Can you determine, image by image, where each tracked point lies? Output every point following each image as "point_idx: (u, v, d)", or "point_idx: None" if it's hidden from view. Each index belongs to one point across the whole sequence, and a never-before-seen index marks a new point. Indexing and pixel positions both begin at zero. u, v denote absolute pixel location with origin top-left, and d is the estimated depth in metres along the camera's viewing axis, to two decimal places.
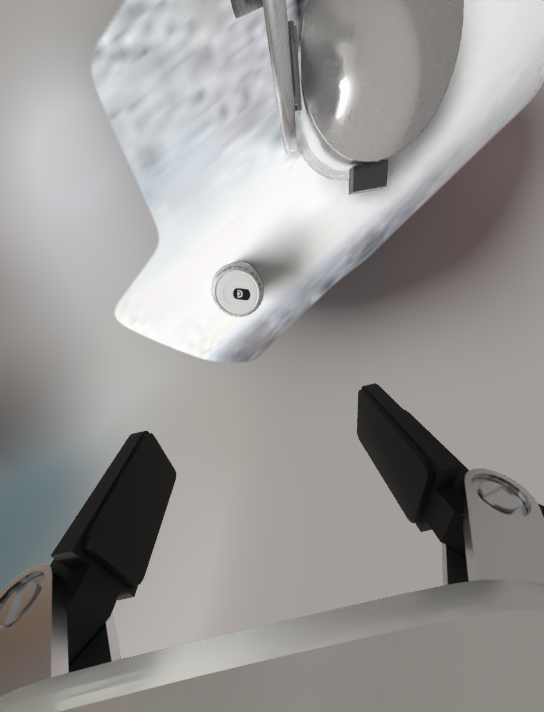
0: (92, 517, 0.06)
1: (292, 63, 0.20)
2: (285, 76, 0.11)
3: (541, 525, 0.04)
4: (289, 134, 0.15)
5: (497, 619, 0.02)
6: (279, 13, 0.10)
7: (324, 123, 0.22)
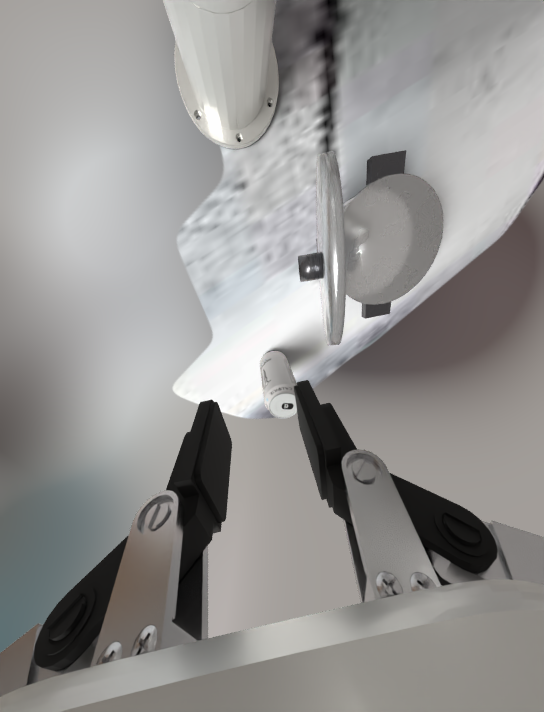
0: (196, 458, 0.07)
1: None
2: None
3: (390, 481, 0.05)
4: None
5: (497, 619, 0.02)
6: (338, 338, 0.19)
7: (346, 286, 0.31)
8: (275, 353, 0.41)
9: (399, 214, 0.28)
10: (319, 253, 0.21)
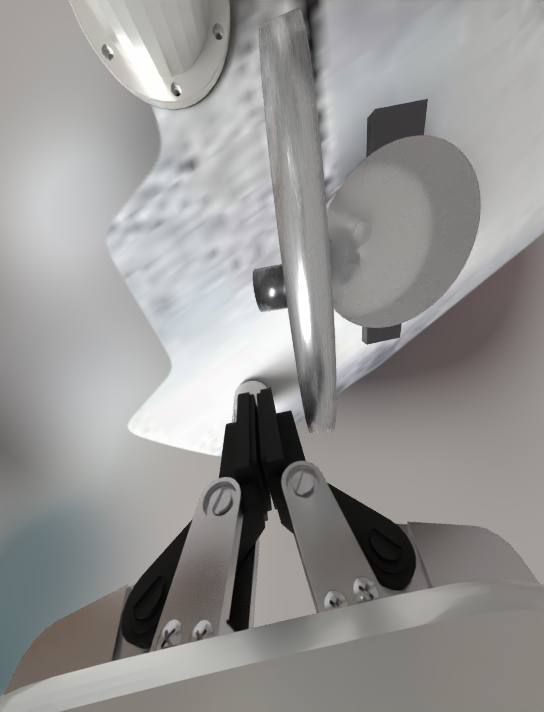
0: (249, 446, 0.07)
1: None
2: None
3: (327, 486, 0.06)
4: None
5: (497, 619, 0.02)
6: None
7: (339, 304, 0.22)
8: (252, 385, 0.32)
9: (416, 200, 0.18)
10: None
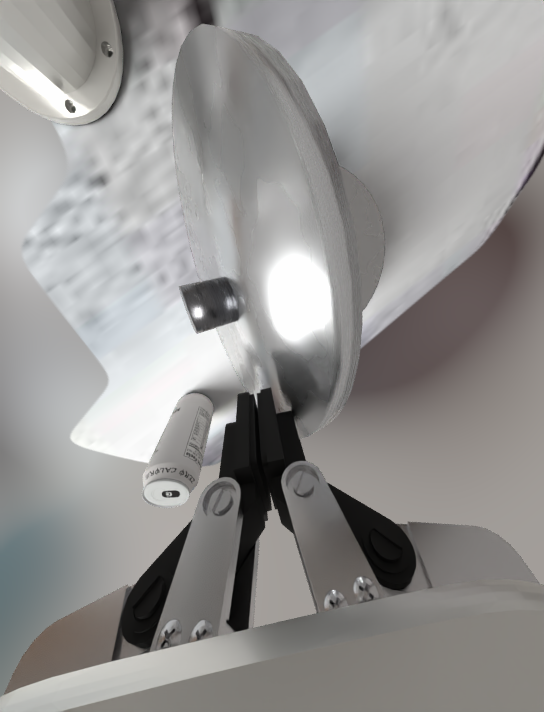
0: (249, 446, 0.07)
1: None
2: None
3: (327, 485, 0.06)
4: None
5: (497, 619, 0.02)
6: None
7: None
8: (191, 398, 0.32)
9: None
10: (221, 279, 0.11)
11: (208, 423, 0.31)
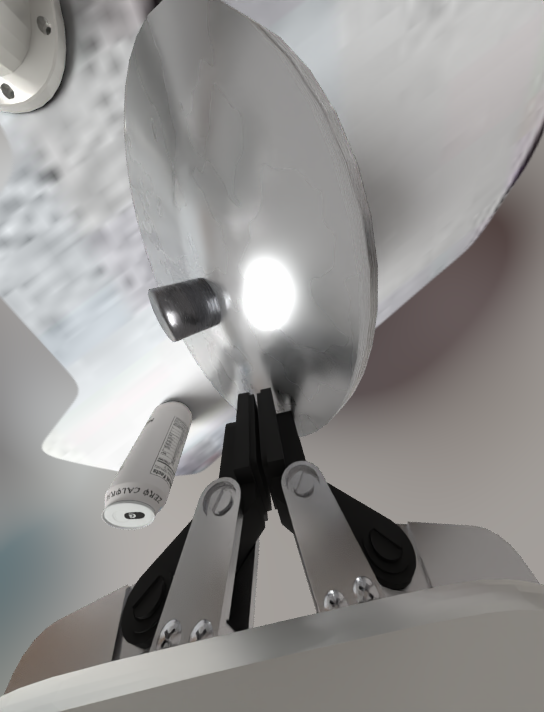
0: (249, 446, 0.07)
1: None
2: None
3: (327, 486, 0.06)
4: None
5: (497, 619, 0.02)
6: None
7: None
8: (167, 407, 0.30)
9: None
10: (198, 280, 0.10)
11: (184, 434, 0.29)
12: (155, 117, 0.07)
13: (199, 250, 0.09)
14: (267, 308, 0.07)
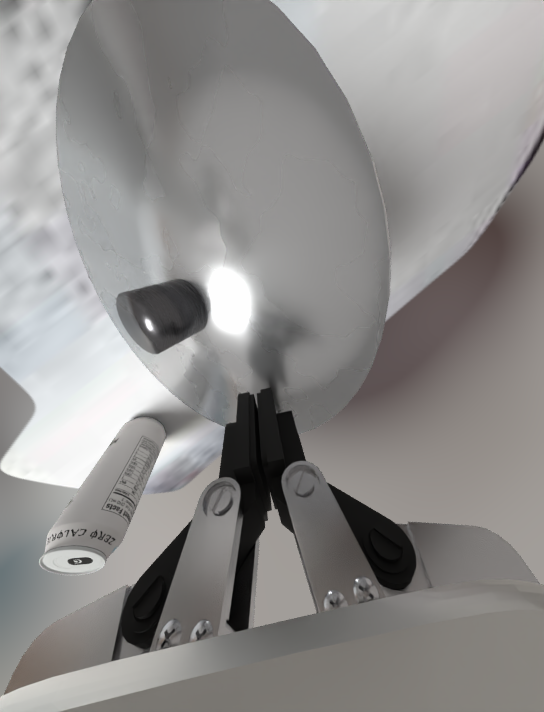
0: (249, 445, 0.07)
1: None
2: None
3: (327, 486, 0.06)
4: None
5: (497, 619, 0.02)
6: None
7: None
8: (135, 425, 0.27)
9: None
10: (178, 281, 0.09)
11: (152, 456, 0.26)
12: (121, 90, 0.06)
13: (180, 247, 0.08)
14: (278, 302, 0.07)
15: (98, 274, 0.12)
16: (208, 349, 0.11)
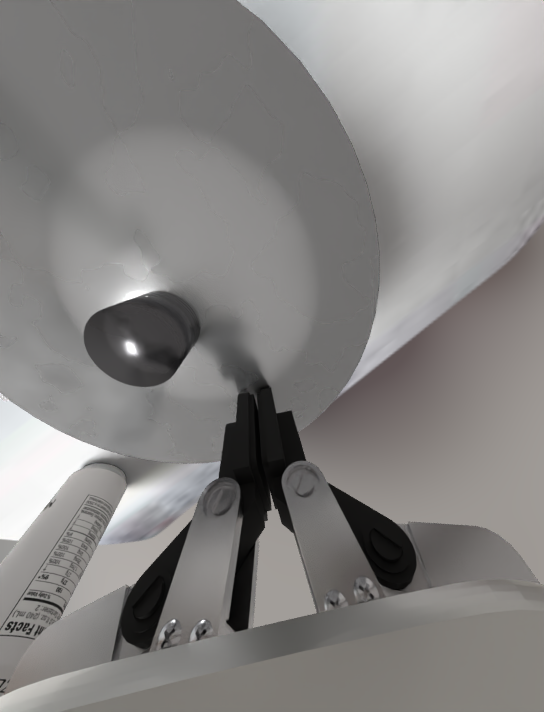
0: (248, 446, 0.07)
1: None
2: None
3: (327, 486, 0.06)
4: None
5: (497, 619, 0.02)
6: None
7: None
8: (81, 479, 0.22)
9: None
10: (161, 293, 0.07)
11: (100, 522, 0.20)
12: (80, 55, 0.05)
13: (165, 252, 0.07)
14: (290, 300, 0.08)
15: None
16: (197, 370, 0.09)
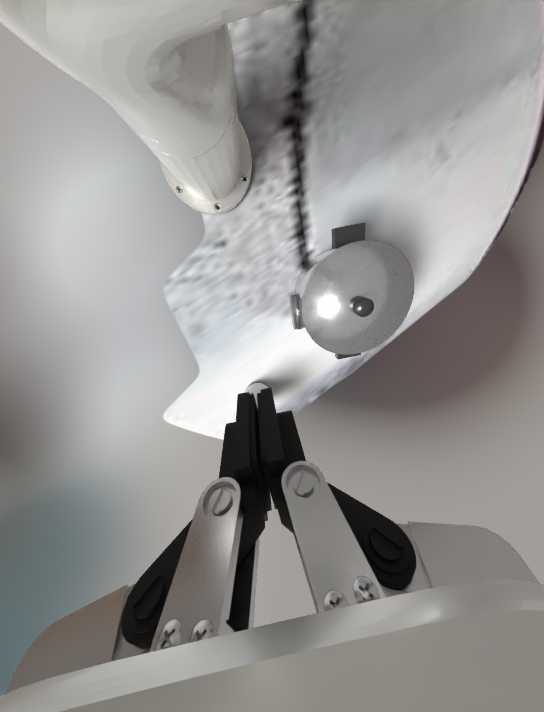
0: (249, 446, 0.07)
1: None
2: None
3: (327, 486, 0.06)
4: None
5: (497, 619, 0.02)
6: None
7: None
8: (258, 386, 0.44)
9: None
10: (361, 296, 0.30)
11: None
12: (363, 254, 0.28)
13: (364, 286, 0.30)
14: (390, 298, 0.31)
15: (311, 298, 0.30)
16: (360, 318, 0.32)
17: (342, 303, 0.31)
